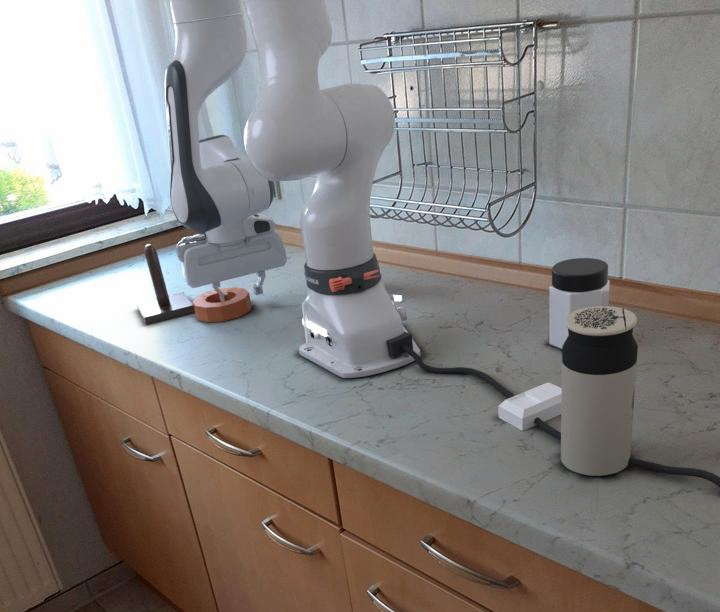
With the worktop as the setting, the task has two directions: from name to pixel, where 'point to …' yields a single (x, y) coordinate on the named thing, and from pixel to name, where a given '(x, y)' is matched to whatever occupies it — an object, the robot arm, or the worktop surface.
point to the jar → (575, 292)
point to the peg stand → (161, 294)
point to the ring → (222, 305)
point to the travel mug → (598, 390)
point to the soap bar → (532, 406)
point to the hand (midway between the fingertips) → (242, 298)
